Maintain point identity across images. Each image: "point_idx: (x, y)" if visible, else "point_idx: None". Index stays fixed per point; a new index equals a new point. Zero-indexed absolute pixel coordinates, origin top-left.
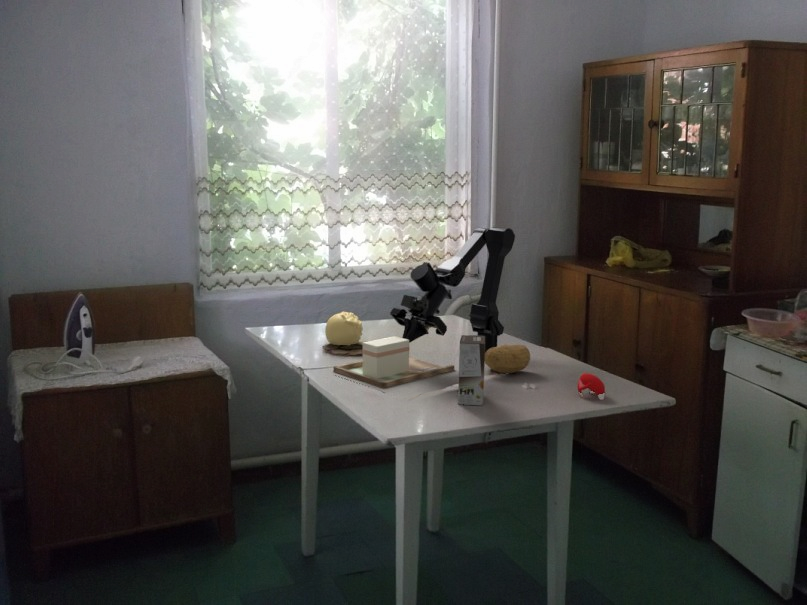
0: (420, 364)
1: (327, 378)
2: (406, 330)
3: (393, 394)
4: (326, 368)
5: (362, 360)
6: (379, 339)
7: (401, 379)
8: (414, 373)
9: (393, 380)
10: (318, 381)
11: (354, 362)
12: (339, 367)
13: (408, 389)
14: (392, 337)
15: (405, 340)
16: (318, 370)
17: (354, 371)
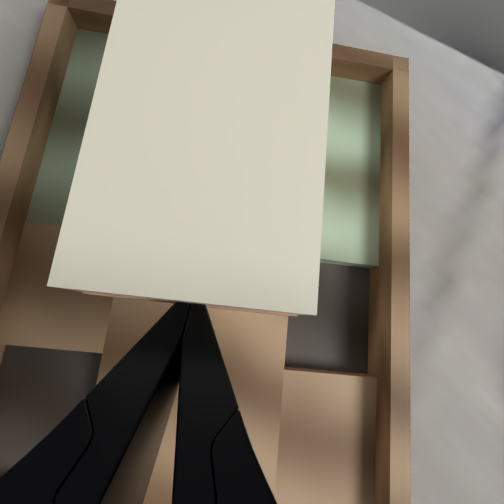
0: None
1: (369, 47)
2: (189, 444)
3: (19, 32)
4: (480, 142)
5: (407, 220)
6: (320, 90)
7: (25, 92)
8: None
9: (37, 43)
10: (361, 4)
11: (403, 166)
12: (382, 64)
13: (5, 119)
14: (286, 241)
15: (68, 228)
16: (475, 104)
17: (335, 122)
